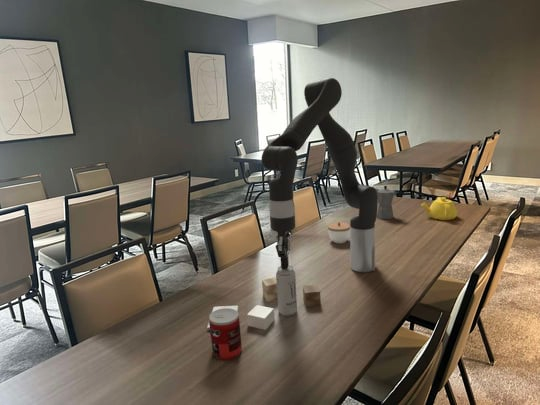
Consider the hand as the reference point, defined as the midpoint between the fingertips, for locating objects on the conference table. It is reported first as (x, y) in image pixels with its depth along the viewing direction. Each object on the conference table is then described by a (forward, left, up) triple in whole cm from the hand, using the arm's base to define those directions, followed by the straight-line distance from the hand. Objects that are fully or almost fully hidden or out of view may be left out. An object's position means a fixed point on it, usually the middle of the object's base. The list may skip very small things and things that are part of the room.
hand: (285, 267), depth 118 cm
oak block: (+7, -9, -15) cm, 19 cm away
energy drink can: (0, 0, -16) cm, 16 cm away
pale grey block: (+7, +7, -16) cm, 18 cm away
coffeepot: (-37, -107, -16) cm, 114 cm away
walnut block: (-7, -7, -16) cm, 18 cm away
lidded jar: (-14, -66, -16) cm, 69 cm away
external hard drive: (+19, +6, -16) cm, 26 cm away
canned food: (+13, +22, -16) cm, 30 cm away
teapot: (-66, -106, -16) cm, 126 cm away
